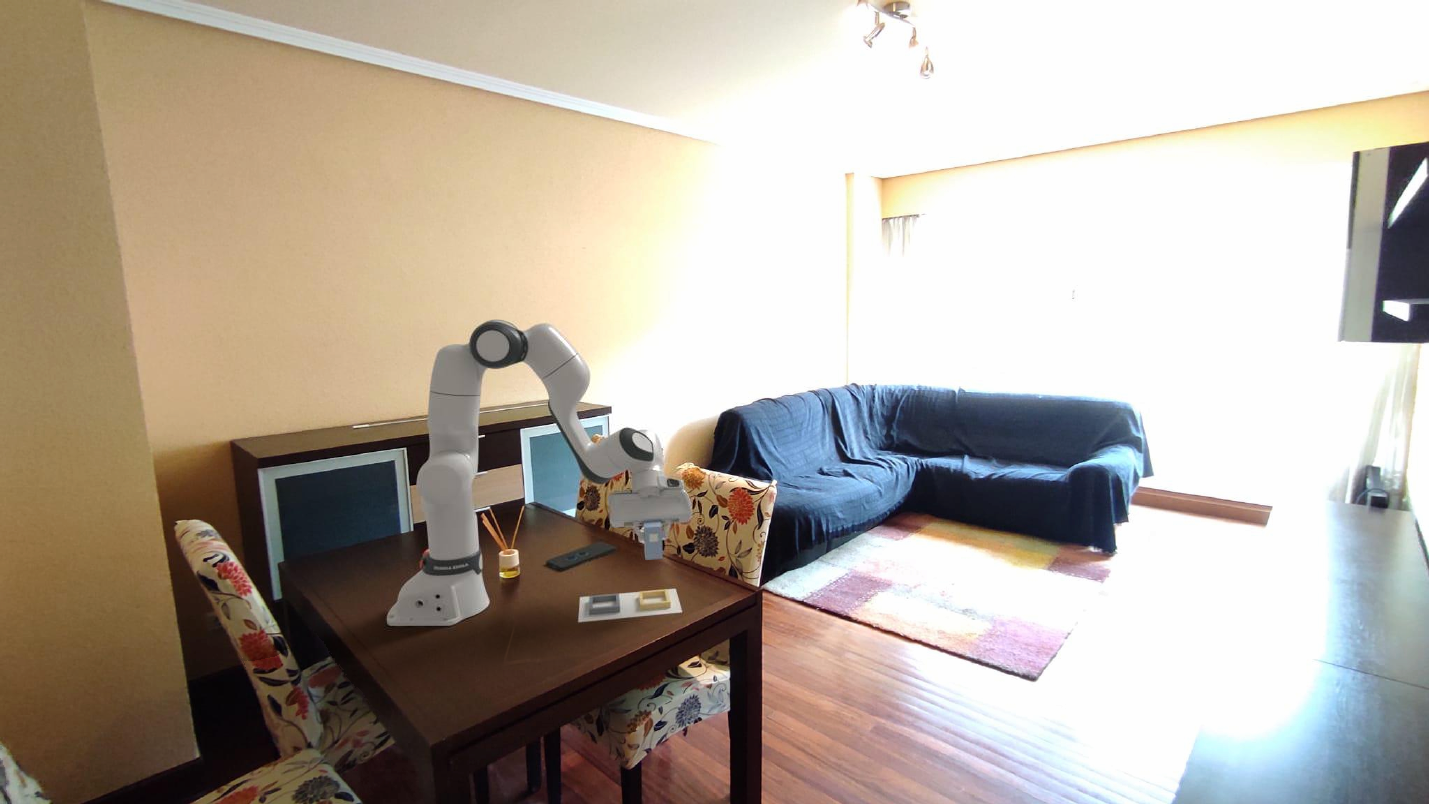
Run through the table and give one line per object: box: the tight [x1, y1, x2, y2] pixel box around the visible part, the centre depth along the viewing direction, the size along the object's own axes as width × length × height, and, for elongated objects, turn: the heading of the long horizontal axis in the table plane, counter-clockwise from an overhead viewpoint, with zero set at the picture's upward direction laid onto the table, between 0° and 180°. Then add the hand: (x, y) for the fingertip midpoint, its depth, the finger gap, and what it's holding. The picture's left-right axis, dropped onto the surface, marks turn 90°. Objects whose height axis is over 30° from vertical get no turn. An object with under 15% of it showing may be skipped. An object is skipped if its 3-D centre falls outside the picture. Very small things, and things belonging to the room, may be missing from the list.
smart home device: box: [545, 541, 618, 572], centre depth 182 cm, size 8×2×20 cm
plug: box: [643, 521, 663, 561], centre depth 149 cm, size 4×5×8 cm
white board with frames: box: [577, 588, 683, 623], centre depth 150 cm, size 24×13×2 cm, turn 101°
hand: (653, 539), depth 148 cm, fingers closed on plug, 4 cm apart
